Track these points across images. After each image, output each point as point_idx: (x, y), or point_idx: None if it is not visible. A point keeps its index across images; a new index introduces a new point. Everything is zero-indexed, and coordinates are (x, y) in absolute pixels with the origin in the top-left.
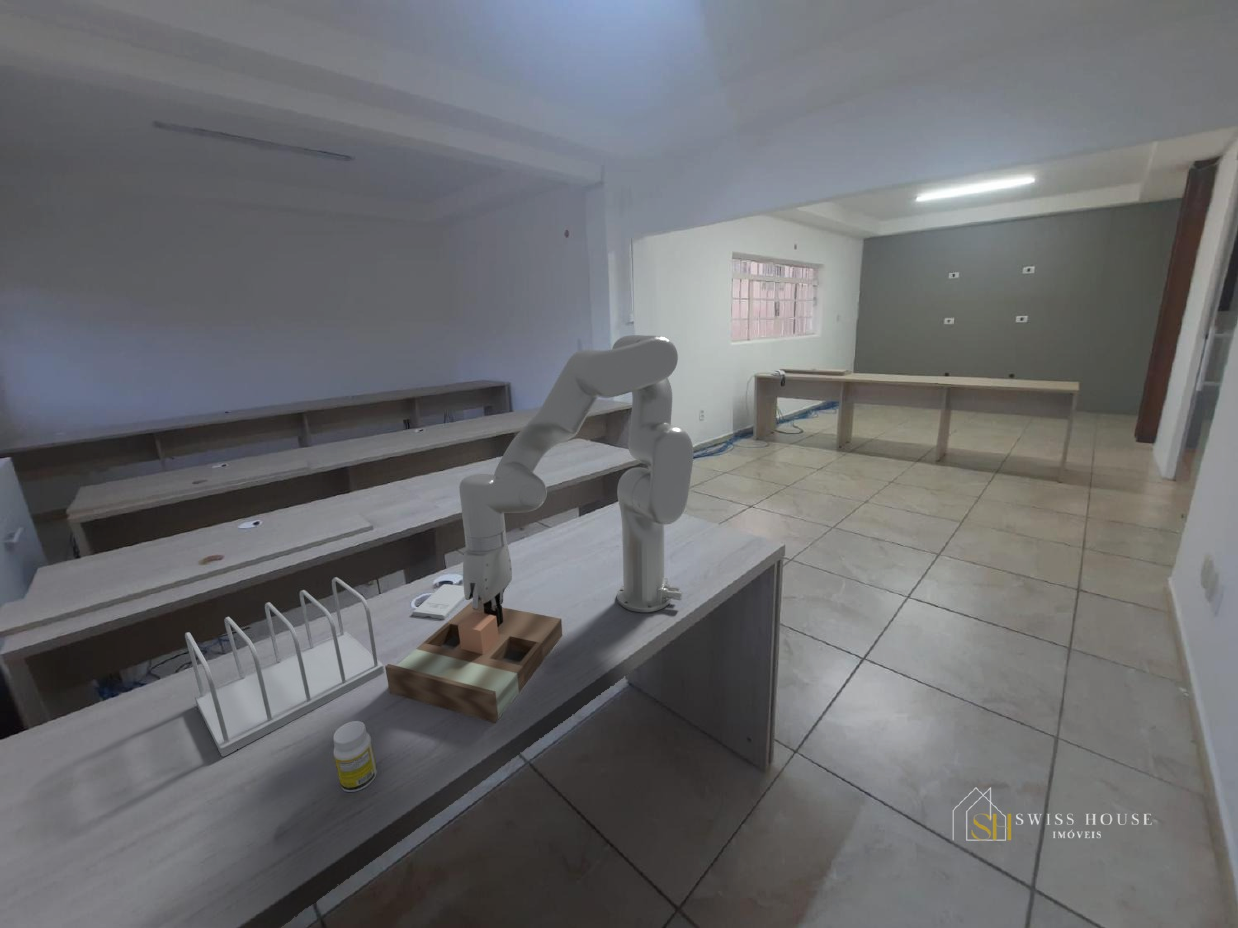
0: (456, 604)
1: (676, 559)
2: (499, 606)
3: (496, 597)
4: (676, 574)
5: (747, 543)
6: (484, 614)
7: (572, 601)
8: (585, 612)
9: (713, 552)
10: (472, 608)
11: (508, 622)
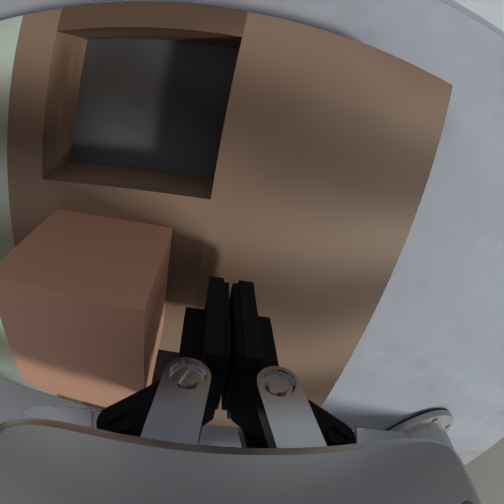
0: (461, 6)
1: (489, 420)
2: (227, 415)
3: (262, 435)
4: (454, 436)
5: (480, 451)
6: (134, 372)
7: (440, 354)
8: (388, 391)
9: (481, 439)
10: (22, 414)
11: (282, 320)
